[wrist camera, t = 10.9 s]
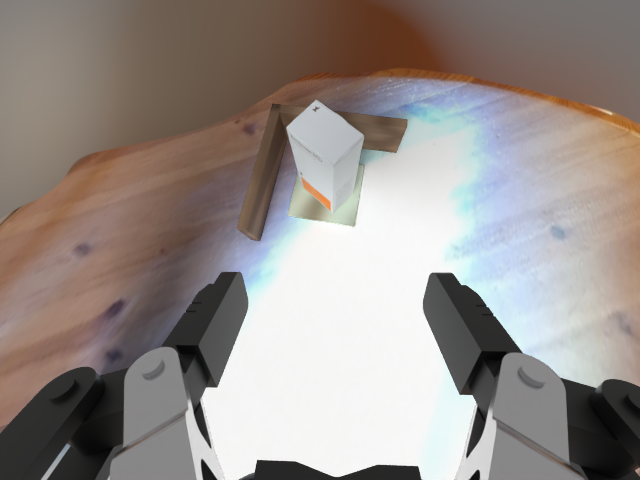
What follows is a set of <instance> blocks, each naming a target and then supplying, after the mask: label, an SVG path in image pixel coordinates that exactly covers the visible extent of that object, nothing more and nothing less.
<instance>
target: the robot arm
mask: <svg viewBox="0 0 640 480" xmlns="http://www.w3.org/2000/svg"><path fill="white" fill-rule="evenodd" d="M247 310H248V296H247V292H246V288H245V284H244V280H243V276H242V274H241V272H222V273H221V274H220V275H219V277H218V278H217V280H216V281H215V283H214V284H208V285H207V286H206V287H205V288H203V289H202V290H201V291H200V292H198V294H197V295H196V297H195V298H194V300H193V301H192V304H190V306H189V307H188V308H187V310H186V313H184V314H183V316H182V317H181V319H180V320H179V322H178V323H177V325H176V326H175V327H174V329H173V330H172V332H171V333H170V335H169V336H168V338H167V339H166V341H165V342H164V344H163V345H162V346H161V347H160V348H156V349H154V350H151V351H149V352H147V353H146V354H144V355H142V356H141V357H140V358H138V359H137V360H136V361H135V362H134V363H133V364H132V365H131V367H130V368H127V369H123V370H120V371H116V372H112V373H109V374H105V375H101V376H99V375H98V374H97V373H96V371H95V370H94V369H92V368H90V367H80V368H76V369H73V370H70V371H68V372H66V373H64V374H62V375H60V376H58V377H57V378H55V379H54V380H52V381H51V382H50V383H48V384H47V385H46V386H45V387H44V388H42V389H41V390H40V391H39V392H38V394H37V395H36V396H35V397H34V398H33V399H32V400H31V401H30V402H29V403H28V404H27V405H26V406H25V407H24V408H23V409H22V411H21V412H20V413H19V414H18V415H17V416H16V417H15V418H14V419H13V420H12V421H11V422H10V423H9V424H7V425H5V426H2V427H0V480H225V478H224V474H223V471H222V468H221V466H220V463H219V461H218V458H217V455H216V452H215V448H214V444H213V440H212V436H211V432H210V428H209V424H208V420H207V416H206V412H205V408H204V405H203V401H202V398H201V397H202V395H203V393H204V390H205V388H206V387H218V384H219V382H220V379H221V377H222V374H223V372H224V369H225V366H226V364H227V361H228V359H229V356H230V354H231V351H232V349H233V346H234V344H235V341H236V338H237V336H238V333H239V331H240V328H241V326H242V323H243V321H244V318H245V316H246V313H247ZM423 310H424V314H425V316H426V319H427V321H428V323H429V326H430V328H431V330H432V332H433V335H434V337H435V339H436V342H437V344H438V346H439V348H440V351H441V353H442V355H443V358H444V360H445V362H446V364H447V367H448V369H449V371H450V374H451V376H452V378H453V380H454V383H455V385H456V387H457V390H458V392H459V394H460V395H473V397H474V399H475V401H476V405H475V407H474V411H473V415H472V419H471V423H470V427H469V432H468V436H467V440H466V444H465V448H464V452H463V456H462V460H461V463H460V466H459V469H458V471H457V474H456V476H455V479H454V480H640V477H639V475H638V474H637V473H636V472H635V470H636V469H638V468H640V387H639V386H636V385H634V384H632V383H629V382H626V381H622V380H617V379H609V380H606V381H604V382H603V383H602V384H601V385H600V386H599V387H598V388H594V387H591V386H587V385H584V384H580V383H577V382H573V381H570V380H566V379H563V378H560V377H559V376H558V375H557V374H556V373H555V372H554V371H553V370H552V369H551V368H550V367H549V366H547V365H546V364H544V363H543V362H541V361H540V360H538V359H536V358H534V357H532V356H529V355H526V354H523V353H522V351H521V350H520V349H519V347H518V346H517V345H516V344H515V342H514V341H513V340H512V338H511V337H510V336H509V334H508V333H507V332H506V330H505V329H504V328H503V326H502V325H501V324H500V322H499V321H498V320H497V318H496V317H495V316H493V313H492V312H491V310H490V309H489V308H488V307H486V304H485V303H484V301H483V300H482V299H481V297H480V296H479V295H478V294H477V293H476V292H474V291H473V290H472V289H470V288H469V287H468V286H466V285H461V284H460V283H459V281H458V280H457V279H456V277H455V276H454V274H452V273H431V274H430V276H429V279H428V283H427V287H426V291H425V295H424V299H423ZM239 480H421V476H420V472H419V468H418V466H396V465H375V466H372V467H369V468H366V469H363V470H360V471H357V472H354V473H351V474H348V475H345V476H342V477H333V476H330V475H328V474H325V473H323V472H320V471H318V470H315V469H313V468H310V467H308V466H305V465H303V464H301V463H298V462H293V461H268V460H257V464H256V469H255V473H252V474H249V475H247V476H245V477H243V478H241V479H239Z"/></svg>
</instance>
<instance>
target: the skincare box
mask: <svg viewBox="0 0 640 480" xmlns="http://www.w3.org/2000/svg"><path fill="white" fill-rule="evenodd" d="M286 129H287V133H288V137H289V140H290V144H291V148H292V152H293V155H294V159H295V163H296V167H297V170H298V174H299V178H300V182H301V185H302V188H304V189H305V190H306V191H307V192H309V193H310V194H311V195H312V196H313V197H314V198H316V199H317V200H318V201H319V202H320V203H321V204H322V205H324V206H325V207H326V208H327V209H328V210H329V211H330V212H331V213H334V212H335V211H336V210H337V209H338V208H339V207H340V206H341V205H342V204H343V203H344V202H345V201H346V200H347V199H348V198H349V197H350V196H351V195H352V194H353V192H354V187H355V181H356V176H357V171H358V165H359V160H360V155H361V150H362V145H363V141H364V135H363V134H362V133H361V132H359V131H358V130H357V129H355V128H354V127H353V126H351V125H350V124H349V123H348V122H346V121H345V119H343V118H342V117H341V116H340V115H338V114H337V113H335V112H333V111H332V110H330V109H329V108H327V107H326V106H325V105H323V104H322V103H321V102H319V101H318V100H315V101H314V102H313V103H312V104H311V105H310V106H309V107H307V108H306V109H305V110H304V111H303V112H302V113H301V114H300V115H299V116H298V117H296V118H295V119H294V120H293V121H292V122H291V123H290V124H289V125H288V126H287V127H286Z"/></svg>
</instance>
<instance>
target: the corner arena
mask: <svg viewBox="0 0 640 480" xmlns="http://www.w3.org/2000/svg"><path fill="white" fill-rule="evenodd" d="M305 109H306V108H305V107H297V106H289V105H280V104H272V108H271V111H270V115H269V118H268V122H267V125H266V129H265V132H264V135H263V139H262V142H261V146H260V149H259V153H258V156H257V160H256V163H255V166H254V170H253V173H252V177H251V180H250V184H249V187H248V191H247V194H246V198H245V201H244V204H243V208H242V211H241V215H240V218H239V222H238V225H237V229H238V230H239V231H241V232H242V233H243V234H245V235H246V236H247V237H248V238H250V239H251V240H256V241H260V239H261V235H262V231H263V228H264V224H265V220H266V216H267V212H268V208H269V205H270V201H271V197H272V193H273V189H274V185H275V182H276V178H277V174H278V170H279V166H280V163H281V159H282V155H283V151H284V147H285V143H286V140H287V138H289V137H288V133H287V129H286V127H287V126H288V125H289V124H290V123H291V122H292V121H293V120H294V119H295V118H296V117H298V116H299V115H300V114H301V113H302V112H303V111H304V110H305ZM333 112H335V113H337V114H338V115H340V116H341V117H342V118H343V119H345V121H346V122H348V123H349V124H350V125H351V126H353V127H354V128H355V129H357V130H358V131H359V132H361V133H362V134H363V135H364V141H363V145H362V148H364V149H372V150H379V151H387V152H394V153H396V152H397V149H398V147H399V145H400V142H401V140H402V137H403V135H404V133H405V130H406V128H407V119H399V118H390V117H382V116H373V115H365V114H356V113H348V112H339V111H333ZM363 171H364V165H358V171H357V176H356V181H355V187H354V192H353V194H352V195H351V196H350V197H349V198H348V199H347V200H346V201H345V202H344V203H343V204H342V205H341V206H340V207H339V208H338V209H337V210H336V211H335V212H334V213H331V212H330V211H329V210H328V209H327V208H326V207H325V206H324V205H322V204H321V203H320V202H319V201H318V200H317V199H316V198H314V197H313V196H312V195H311V194H310V193H309V192H307V191H306V190H305V189H304V188H302V185H301V182H300V178H299V174H297V178H296V182H295V186H294V190H293V195H292V199H291V203H290V207H289V211H288V216H291V217H297V218H303V219H309V220H315V221H322V222H328V223H334V224H340V225H346V226H352V227H354V226H355V220H356V214H357V208H358V201H359V195H360V189H361V183H362V177H363Z"/></svg>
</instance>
